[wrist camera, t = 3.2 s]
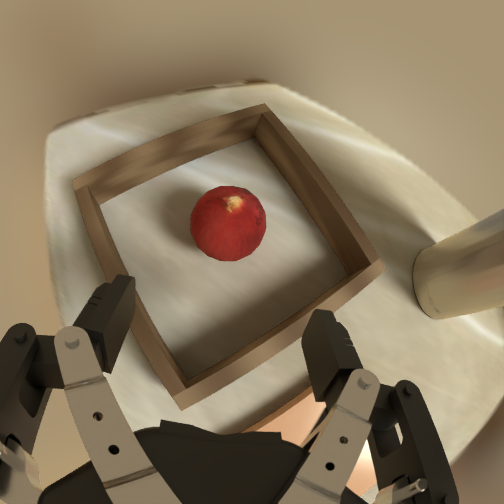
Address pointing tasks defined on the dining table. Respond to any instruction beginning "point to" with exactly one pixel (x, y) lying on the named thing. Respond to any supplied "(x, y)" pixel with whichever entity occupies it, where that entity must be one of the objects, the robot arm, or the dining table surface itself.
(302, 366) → the dining table surface
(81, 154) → the dining table surface
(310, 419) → the terracotta tile
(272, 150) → the brown wooden square tray
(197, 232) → the onion
